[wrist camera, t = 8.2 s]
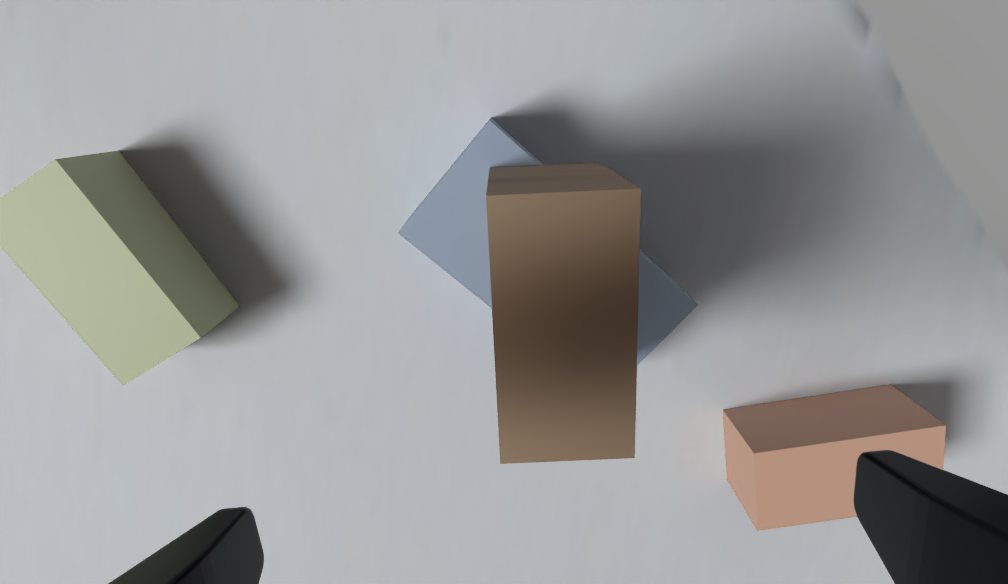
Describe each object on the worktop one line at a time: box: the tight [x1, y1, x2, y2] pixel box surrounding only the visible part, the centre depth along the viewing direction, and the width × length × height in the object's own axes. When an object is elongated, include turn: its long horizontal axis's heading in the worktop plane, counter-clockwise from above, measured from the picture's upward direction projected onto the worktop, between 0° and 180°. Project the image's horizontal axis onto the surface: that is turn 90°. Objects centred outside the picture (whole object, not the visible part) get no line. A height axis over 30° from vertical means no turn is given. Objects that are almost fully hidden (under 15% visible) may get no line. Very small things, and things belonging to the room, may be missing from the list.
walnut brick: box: [486, 162, 641, 464], centre depth 15 cm, size 6×3×5 cm, turn 3°
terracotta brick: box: [723, 384, 946, 531], centre depth 21 cm, size 6×3×3 cm, turn 99°
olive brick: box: [0, 151, 240, 385], centre depth 19 cm, size 6×3×3 cm, turn 31°
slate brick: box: [398, 118, 697, 365], centre depth 19 cm, size 8×4×3 cm, turn 49°
